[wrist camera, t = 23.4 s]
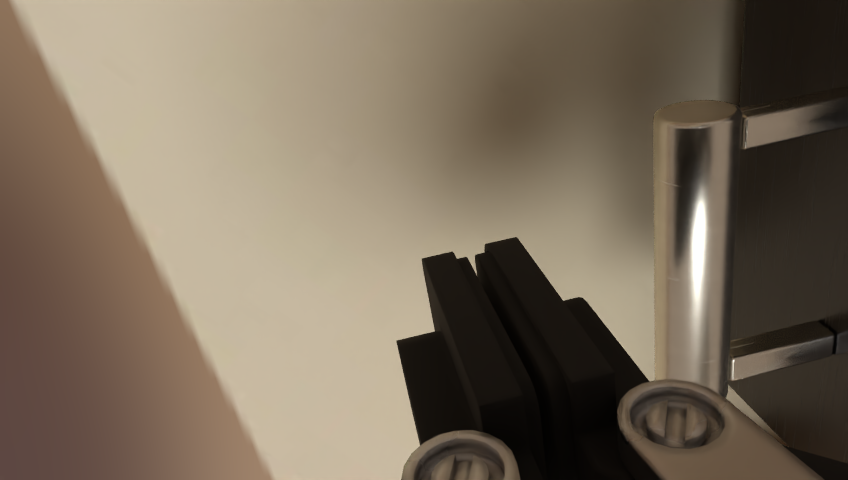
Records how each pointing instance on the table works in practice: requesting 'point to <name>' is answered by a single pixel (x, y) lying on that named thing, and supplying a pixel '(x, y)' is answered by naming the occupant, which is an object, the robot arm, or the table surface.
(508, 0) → the table surface
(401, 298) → the table surface
